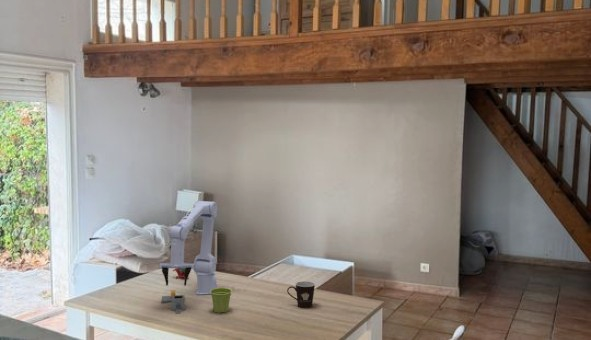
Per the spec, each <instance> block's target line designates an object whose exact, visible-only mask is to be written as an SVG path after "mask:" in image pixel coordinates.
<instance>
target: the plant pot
mask: <svg viewBox="0 0 591 340" xmlns="http://www.w3.org/2000/svg"><path fill="white" fill-rule="evenodd" d="M210 293H211V294H210V296H211V299H212V308H213V311H214V312H215V313H219V314H221V313H227V312H228V311H229V305H230V298H231V296H232V293H233V290H232V289H231V288H226V287H217V288H216V289H212V290H211V291H210Z"/></svg>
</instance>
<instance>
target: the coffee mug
mask: <svg viewBox="0 0 591 340" xmlns="http://www.w3.org/2000/svg"><path fill="white" fill-rule="evenodd" d="M315 286H316V283H314V282H312V281H306V280H304V281H297V282H296V283H295V287H294V286H293V285H292V286H289V287H288V288H287V290H286V291H287V294H288V295H289V297H291V298H293V299H294V300H296V302H297V303H296V304H297V308H300V309H310V307H311V308H312V307H313V303H314V294H315ZM290 289H294V291H295V292H296V293H295V294H296V297H295V296H293V295H292V294H291V293H290V292H289V290H290Z"/></svg>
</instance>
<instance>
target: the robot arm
mask: <svg viewBox="0 0 591 340" xmlns="http://www.w3.org/2000/svg"><path fill="white" fill-rule="evenodd" d="M192 208H193V209H192V210H191V212H190V213H189V214H188V215H185V216H183V217H182V218H181V220H179V222H178V223H177V224H176V225H173V226H171V227H170V229H169V232H168V238H169V242H170V261H169V262H163V263H159V269H160V270H161V273H162V274H163V277H164V281H165V285H166V286H168V285H169V269H176V268H184V269H185V278H184V283H183V285H184V287H185V286H187V282H188V279H187V278H189V276H190V273H191V272H192V270H193V272H194V273H195V275H196V289H195V295H198V296H199V295H211V293H210V291H211V290H212V289H216V288H218V285H217V273H215V272H216V270H217V263H216V262H217V261H216V259H217V258H216V257H215V256H214V255H213V254H212V246H213V234H214V227H215V220H217V216H218V205H217V203H216V201H206V200H195V202H194V204H193V206H192ZM198 218H200V219H201V220H202V221H203V222H202V223H203V224H202V232H201V242H200V252H199V254H197V255H196V256H195V258H194V260H193V261H194V262H193V263H189V262H188V263H186V262H185V242H186V241H185V240H186V239H188V234H189V232H190V230H191V229H192V228H193V226H195V221H196V220H197V219H198Z"/></svg>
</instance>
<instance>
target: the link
mask: <svg viewBox="0 0 591 340" xmlns="http://www.w3.org/2000/svg"><path fill="white" fill-rule="evenodd" d="M185 301H186V296H185V294H177V295H176V294H175V295H174V296H172V303H171V311H172V312H175V314H176V315H178V314H181V311H185V310H186V302H185Z"/></svg>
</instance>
